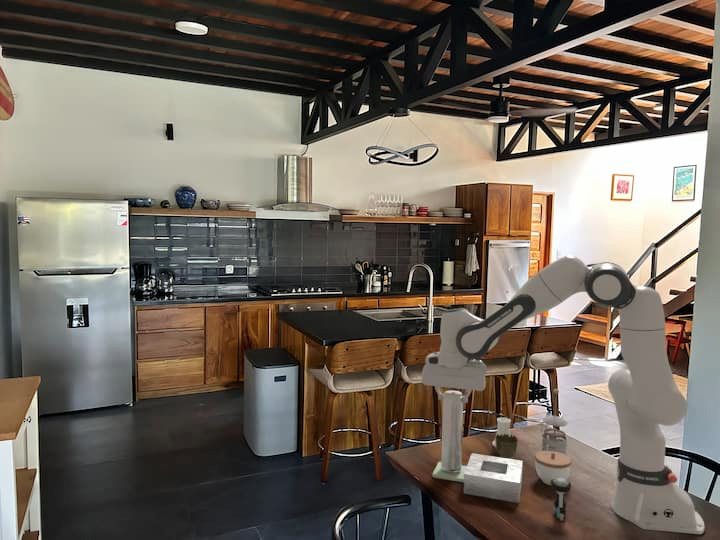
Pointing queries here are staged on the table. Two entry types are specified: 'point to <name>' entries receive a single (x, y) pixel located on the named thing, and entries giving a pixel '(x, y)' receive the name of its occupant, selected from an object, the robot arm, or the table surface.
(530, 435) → the table surface
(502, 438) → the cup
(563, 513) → the push button
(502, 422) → the vase
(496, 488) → the bore block
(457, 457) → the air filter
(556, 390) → the french press
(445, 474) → the pad
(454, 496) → the table surface
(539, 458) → the lidded jar
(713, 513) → the table surface
